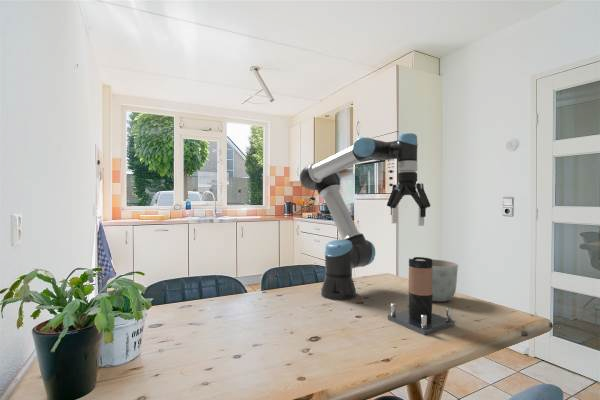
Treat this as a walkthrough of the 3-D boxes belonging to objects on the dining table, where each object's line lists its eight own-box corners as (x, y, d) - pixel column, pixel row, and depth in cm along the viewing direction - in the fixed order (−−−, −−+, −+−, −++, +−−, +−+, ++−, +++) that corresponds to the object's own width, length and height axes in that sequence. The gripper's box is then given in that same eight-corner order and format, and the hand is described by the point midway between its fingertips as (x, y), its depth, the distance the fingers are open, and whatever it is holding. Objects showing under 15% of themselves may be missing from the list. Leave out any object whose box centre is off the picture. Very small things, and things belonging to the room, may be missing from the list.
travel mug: (434, 323, 104) (434, 261, 104) (409, 321, 105) (410, 260, 105) (429, 314, 111) (430, 257, 111) (407, 313, 113) (407, 256, 113)
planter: (460, 297, 137) (460, 261, 137) (455, 308, 123) (455, 268, 123) (418, 291, 146) (419, 257, 146) (409, 300, 132) (409, 263, 132)
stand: (388, 319, 111) (388, 303, 111) (417, 311, 119) (417, 297, 119) (424, 335, 98) (424, 317, 98) (454, 325, 106) (454, 308, 106)
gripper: (378, 173, 139) (378, 222, 139) (427, 169, 117) (426, 227, 117) (391, 174, 143) (391, 222, 143) (440, 170, 121) (440, 226, 121)
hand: (407, 224), depth 130 cm, fingers open, 13 cm apart
